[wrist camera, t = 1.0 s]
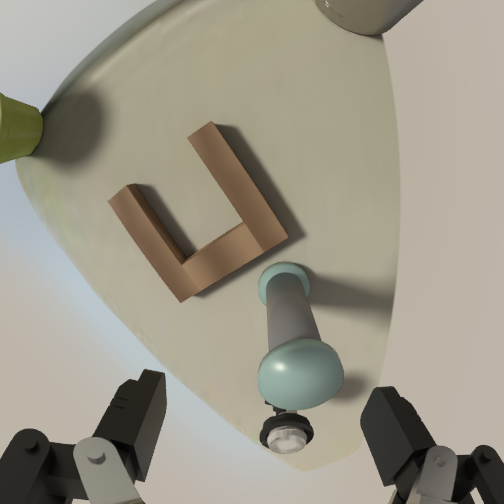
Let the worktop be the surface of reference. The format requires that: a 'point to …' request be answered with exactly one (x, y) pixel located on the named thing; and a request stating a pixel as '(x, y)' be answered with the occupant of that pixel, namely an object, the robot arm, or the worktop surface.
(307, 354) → the spool
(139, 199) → the notched board
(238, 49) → the worktop surface
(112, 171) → the worktop surface
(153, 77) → the worktop surface
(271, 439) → the push button
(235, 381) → the worktop surface
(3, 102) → the plant pot
